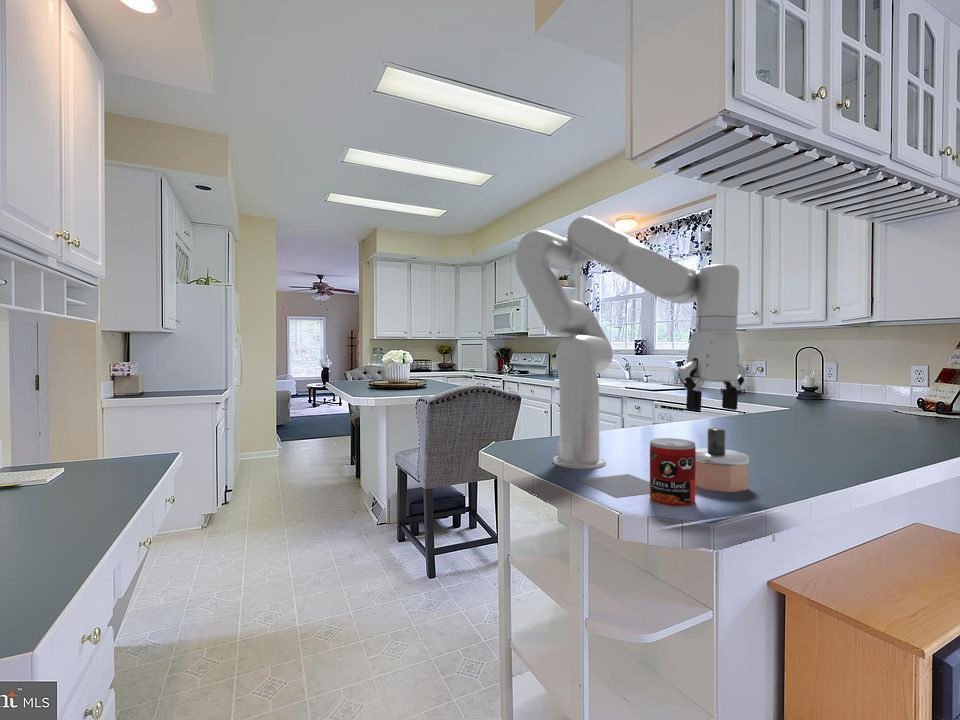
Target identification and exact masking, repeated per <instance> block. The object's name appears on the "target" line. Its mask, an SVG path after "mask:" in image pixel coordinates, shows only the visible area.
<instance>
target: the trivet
mask: <svg viewBox="0 0 960 720" xmlns="http://www.w3.org/2000/svg"><path fill="white" fill-rule="evenodd" d="M577 481H579V482H581V483H583V484H585V485H587V486H590V487H591V488H593V489H596V490H598V491H600V492H602V493H604V494H607V495H608V496H610V497H613V498H615V499H618V498H627V497H633V496H634V497H635V496H640V495H641V496H642V495H650V481H649V480H645V479H643V478H639V477H637V476H635V475H632V474H629V473H625V474H616V475H609V476H608V475H607V476H600V477H590V478H582V479H580V478H579V479H577Z"/></svg>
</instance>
